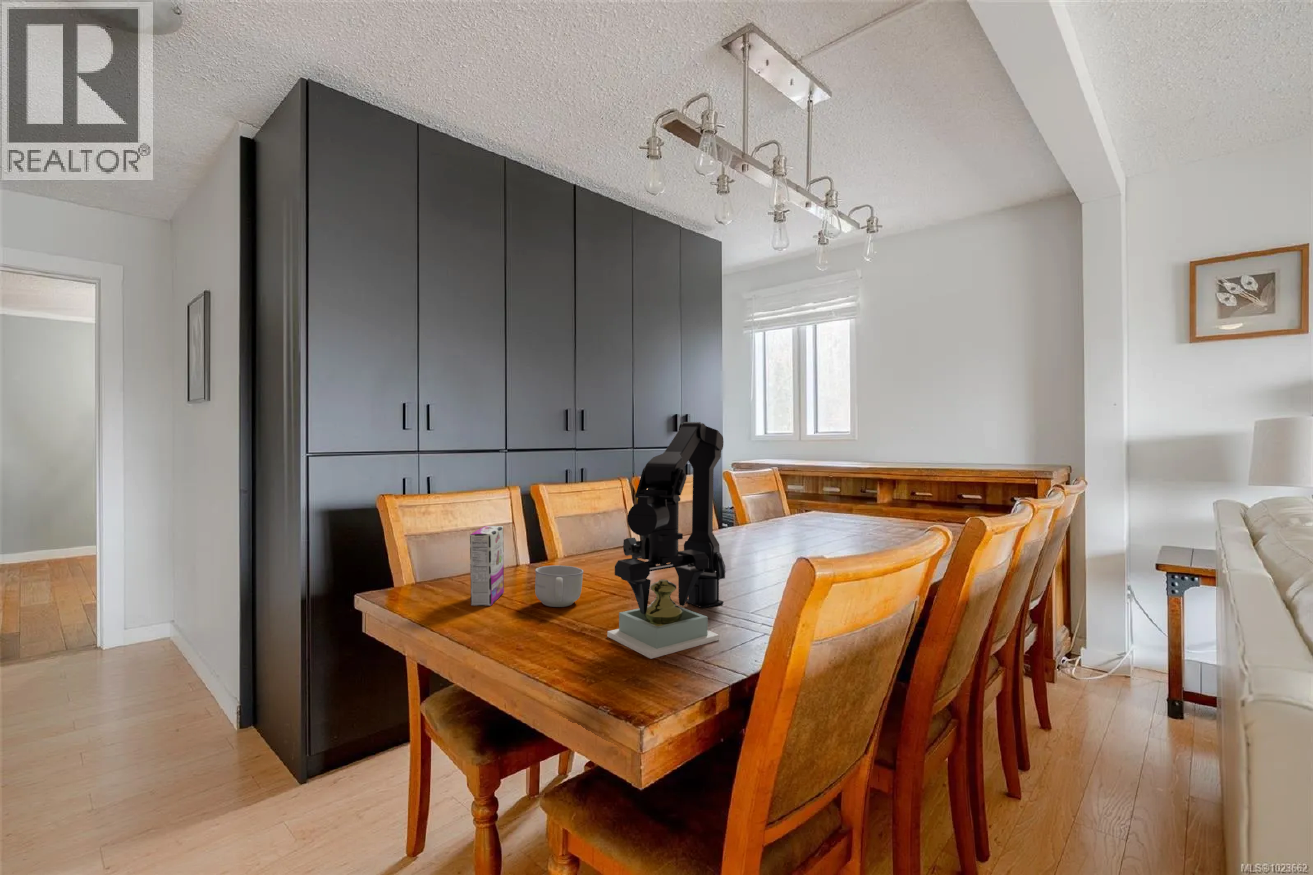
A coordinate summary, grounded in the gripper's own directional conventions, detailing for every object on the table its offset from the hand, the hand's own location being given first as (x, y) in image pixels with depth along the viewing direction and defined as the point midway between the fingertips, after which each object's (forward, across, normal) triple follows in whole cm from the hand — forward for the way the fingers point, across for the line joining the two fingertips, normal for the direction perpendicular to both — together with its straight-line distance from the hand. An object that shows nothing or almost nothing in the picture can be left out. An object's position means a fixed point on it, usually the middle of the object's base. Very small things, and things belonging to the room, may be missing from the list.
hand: (662, 609), depth 114 cm
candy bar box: (+6, +17, -45) cm, 48 cm away
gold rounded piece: (+5, 0, 0) cm, 5 cm away
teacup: (+6, +6, -31) cm, 32 cm away
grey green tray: (+6, 0, 0) cm, 6 cm away
